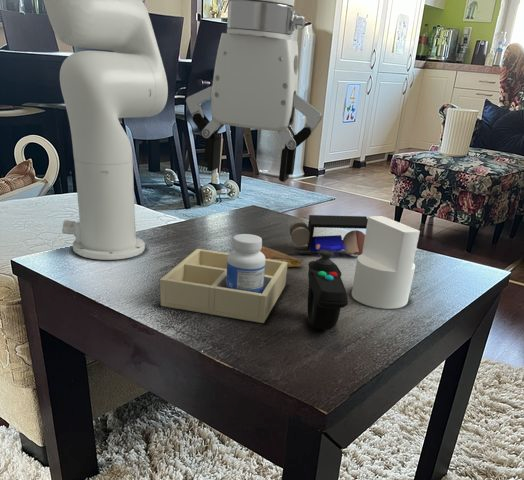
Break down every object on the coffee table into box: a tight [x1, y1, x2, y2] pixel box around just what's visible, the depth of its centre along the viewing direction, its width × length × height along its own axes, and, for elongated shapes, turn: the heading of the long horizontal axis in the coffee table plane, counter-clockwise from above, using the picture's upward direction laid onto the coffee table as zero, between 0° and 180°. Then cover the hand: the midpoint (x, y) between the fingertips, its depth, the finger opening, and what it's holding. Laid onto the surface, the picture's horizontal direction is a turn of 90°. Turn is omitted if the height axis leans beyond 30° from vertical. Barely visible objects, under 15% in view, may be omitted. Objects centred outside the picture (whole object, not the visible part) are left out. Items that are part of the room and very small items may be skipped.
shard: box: [260, 245, 304, 268], centre depth 96 cm, size 11×8×2 cm
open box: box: [159, 248, 288, 324], centre depth 81 cm, size 15×15×4 cm
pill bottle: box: [226, 233, 266, 294], centre depth 76 cm, size 6×5×10 cm
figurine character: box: [289, 214, 368, 257], centre depth 103 cm, size 7×8×15 cm
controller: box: [307, 250, 349, 331], centre depth 72 cm, size 4×12×10 cm, turn 2°
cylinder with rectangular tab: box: [351, 215, 421, 310], centre depth 83 cm, size 9×9×12 cm
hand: (248, 174), depth 70 cm, fingers open, 9 cm apart
